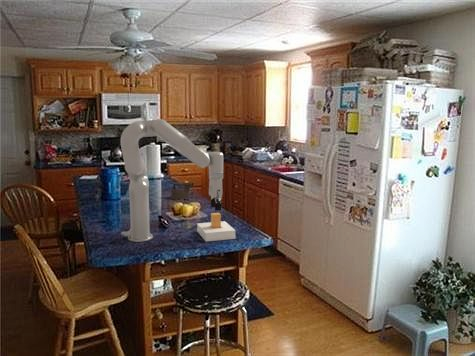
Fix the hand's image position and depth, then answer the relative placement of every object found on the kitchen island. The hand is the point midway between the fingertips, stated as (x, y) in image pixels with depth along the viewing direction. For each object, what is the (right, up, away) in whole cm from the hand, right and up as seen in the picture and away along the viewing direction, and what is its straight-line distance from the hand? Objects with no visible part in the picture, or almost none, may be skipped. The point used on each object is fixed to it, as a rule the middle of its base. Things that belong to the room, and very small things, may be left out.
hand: (215, 208), depth 212 cm
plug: (0, -13, +2) cm, 13 cm away
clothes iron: (-30, 0, +85) cm, 90 cm away
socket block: (0, -14, +3) cm, 15 cm away
